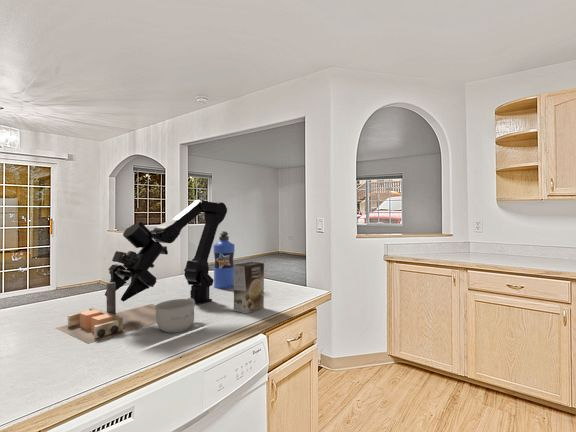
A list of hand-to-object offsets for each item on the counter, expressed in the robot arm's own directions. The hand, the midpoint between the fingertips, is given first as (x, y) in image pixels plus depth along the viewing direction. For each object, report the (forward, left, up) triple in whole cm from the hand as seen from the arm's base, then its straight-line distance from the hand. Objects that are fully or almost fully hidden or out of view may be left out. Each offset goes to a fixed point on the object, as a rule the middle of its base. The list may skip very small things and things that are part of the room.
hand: (113, 298), depth 103 cm
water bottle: (-56, -11, -8) cm, 58 cm away
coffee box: (-36, +22, -8) cm, 43 cm away
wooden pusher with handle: (+4, 0, -7) cm, 9 cm away
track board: (-4, 0, -8) cm, 9 cm away
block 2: (+5, +3, -8) cm, 10 cm away
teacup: (-10, +18, -8) cm, 22 cm away
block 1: (+5, -4, -8) cm, 10 cm away
